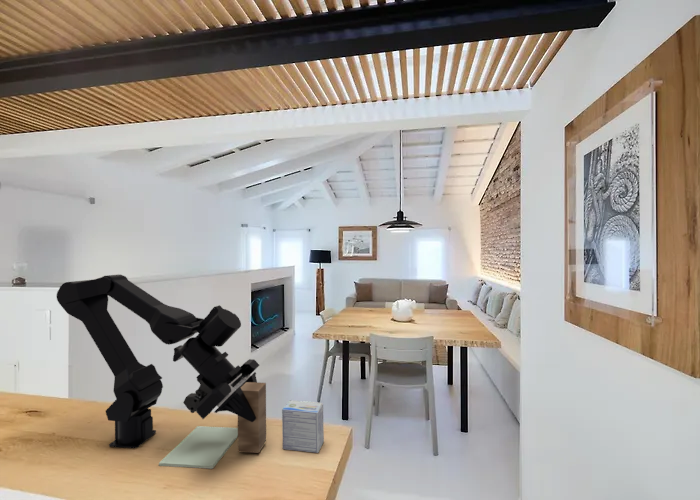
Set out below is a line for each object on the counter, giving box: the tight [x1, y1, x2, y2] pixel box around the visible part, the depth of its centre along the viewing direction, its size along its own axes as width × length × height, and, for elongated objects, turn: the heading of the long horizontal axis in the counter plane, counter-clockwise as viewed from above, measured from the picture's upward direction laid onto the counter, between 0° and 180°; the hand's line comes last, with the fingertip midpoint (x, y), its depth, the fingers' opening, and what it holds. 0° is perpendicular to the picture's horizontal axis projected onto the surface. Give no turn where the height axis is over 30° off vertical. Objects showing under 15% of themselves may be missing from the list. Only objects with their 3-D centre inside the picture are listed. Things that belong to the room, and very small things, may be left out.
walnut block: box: [237, 381, 267, 454], centre depth 72 cm, size 4×4×12 cm
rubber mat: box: [158, 425, 238, 470], centre depth 73 cm, size 11×14×1 cm
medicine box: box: [281, 399, 325, 454], centre depth 73 cm, size 8×4×9 cm, turn 78°
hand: (258, 414), depth 72 cm, fingers closed on walnut block, 4 cm apart
